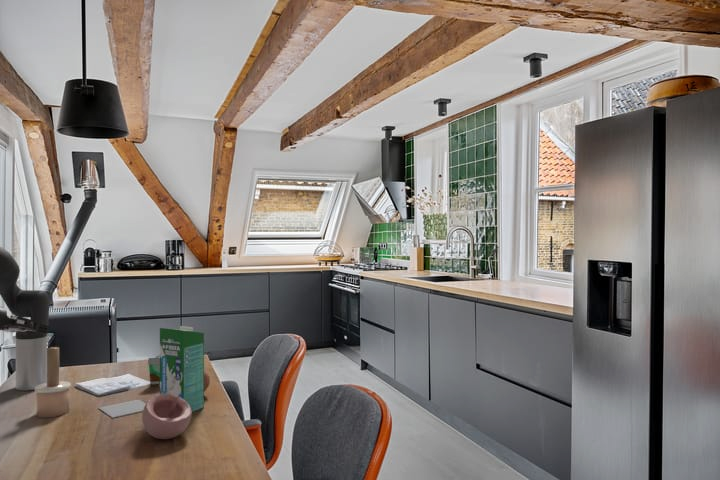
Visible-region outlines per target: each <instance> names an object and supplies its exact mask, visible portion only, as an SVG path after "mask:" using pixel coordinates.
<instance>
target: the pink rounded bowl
mask: <svg viewBox="0 0 720 480" xmlns="http://www.w3.org/2000/svg"><path fill="white" fill-rule="evenodd" d="M145 403H146V405H145V407H144V409H143V412H141V413H142V415H141V422H142V425H143V428H144V429H145V431H146V432H147V433H148V435H150V436H152V437H153V438H155V439H160V440H170V439H174V438H175V437H177V436H180V435H181V434H182V433H183V432H184V431H185V430H186V429H187V427H188V426H189V424H190V422H191V419H192V415H193V414H192V413H193V412H192V410H191V407H190V405H189V404H188V403H187V402H186V401H185V400H184V399H182V398H181V397H179V396H176V395H172V394H160V393H159V394H157V395H153V396H152V397H150V398H149V399H147V401H146V402H145Z"/></svg>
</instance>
